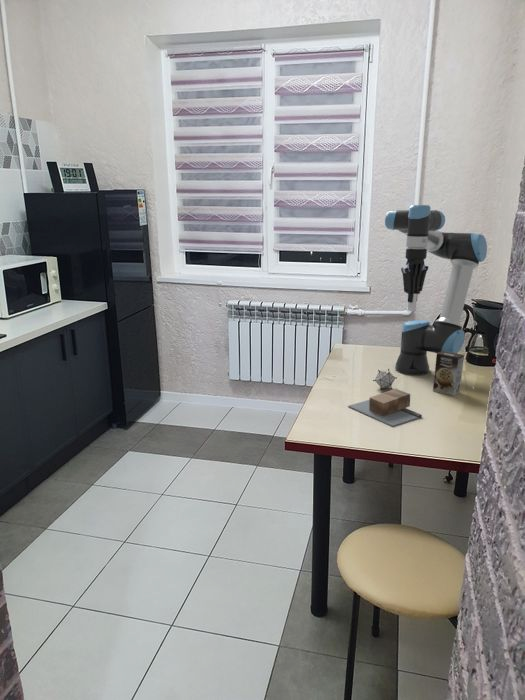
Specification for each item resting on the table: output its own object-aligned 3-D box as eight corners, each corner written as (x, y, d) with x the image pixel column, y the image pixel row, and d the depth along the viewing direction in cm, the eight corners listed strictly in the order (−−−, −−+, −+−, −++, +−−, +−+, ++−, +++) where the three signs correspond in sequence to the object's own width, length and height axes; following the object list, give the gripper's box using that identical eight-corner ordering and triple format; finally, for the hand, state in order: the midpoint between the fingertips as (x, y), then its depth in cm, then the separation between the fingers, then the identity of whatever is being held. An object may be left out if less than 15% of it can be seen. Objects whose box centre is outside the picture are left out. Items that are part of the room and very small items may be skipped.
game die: (387, 397, 214) (397, 384, 206) (368, 389, 214) (377, 375, 207) (392, 382, 219) (401, 368, 212) (373, 374, 220) (382, 360, 212)
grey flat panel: (376, 398, 202) (376, 396, 202) (421, 417, 184) (421, 414, 184) (348, 406, 194) (348, 404, 194) (392, 426, 176) (392, 424, 176)
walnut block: (395, 388, 196) (369, 397, 188) (410, 393, 190) (383, 403, 183) (395, 400, 197) (369, 410, 190) (409, 406, 191) (383, 416, 184)
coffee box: (432, 391, 211) (435, 353, 207) (439, 387, 216) (442, 350, 211) (453, 396, 205) (458, 357, 201) (460, 392, 210) (464, 354, 205)
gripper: (412, 249, 185) (407, 314, 191) (436, 247, 192) (430, 310, 198) (396, 248, 191) (392, 310, 197) (420, 246, 198) (415, 307, 204)
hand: (411, 310), depth 197 cm, fingers closed
